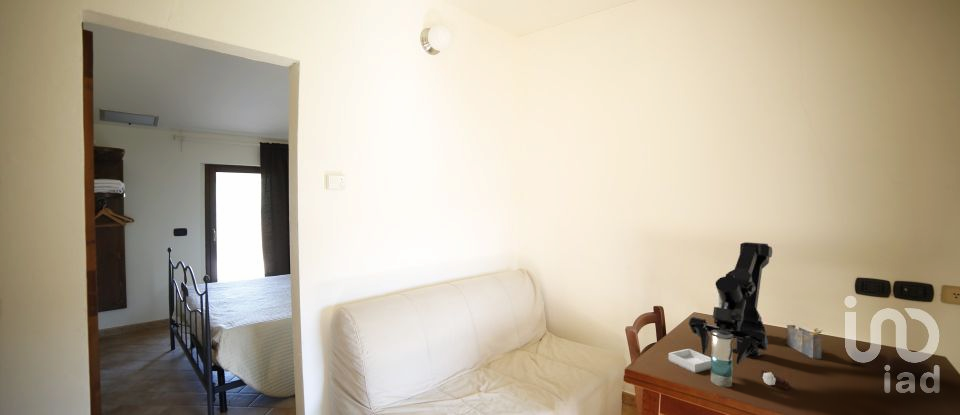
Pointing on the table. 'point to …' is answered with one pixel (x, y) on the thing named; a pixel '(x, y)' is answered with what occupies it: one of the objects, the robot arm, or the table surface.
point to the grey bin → (690, 360)
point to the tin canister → (721, 358)
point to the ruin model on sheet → (804, 341)
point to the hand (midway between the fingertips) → (720, 358)
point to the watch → (774, 380)
